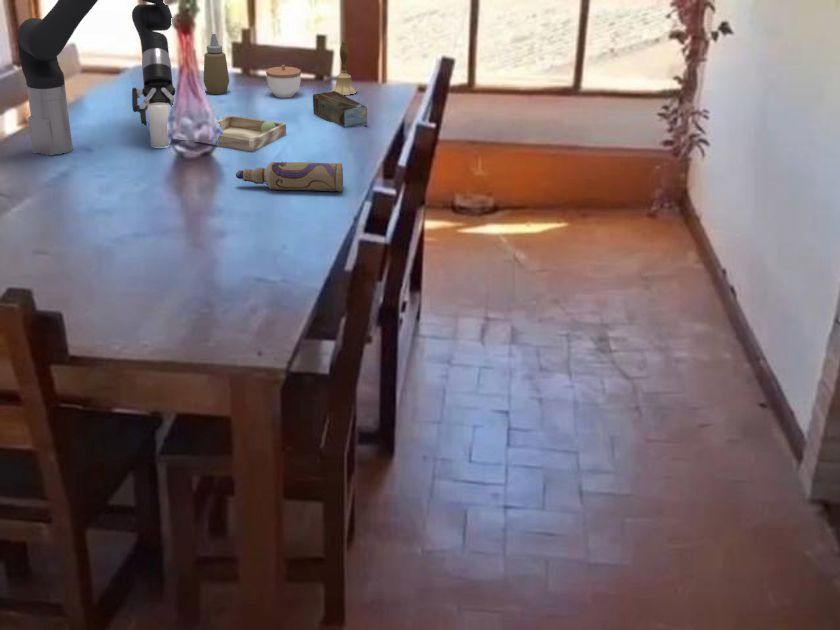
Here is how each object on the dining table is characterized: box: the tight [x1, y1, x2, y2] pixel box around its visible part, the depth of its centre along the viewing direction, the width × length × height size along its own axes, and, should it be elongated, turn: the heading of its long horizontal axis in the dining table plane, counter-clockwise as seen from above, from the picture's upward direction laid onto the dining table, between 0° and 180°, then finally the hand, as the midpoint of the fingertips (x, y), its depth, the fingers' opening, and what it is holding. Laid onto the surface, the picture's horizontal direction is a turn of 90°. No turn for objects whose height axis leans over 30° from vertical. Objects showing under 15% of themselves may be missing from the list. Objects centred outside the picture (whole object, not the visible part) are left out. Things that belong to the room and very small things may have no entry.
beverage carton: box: [312, 90, 368, 128], centre depth 308 cm, size 8×19×7 cm, turn 33°
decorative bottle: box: [235, 161, 344, 192], centre depth 255 cm, size 26×8×7 cm, turn 88°
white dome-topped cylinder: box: [147, 102, 170, 147], centre depth 281 cm, size 5×5×11 cm
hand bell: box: [330, 41, 358, 96], centre depth 334 cm, size 8×8×16 cm
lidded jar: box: [265, 64, 302, 99], centre depth 331 cm, size 11×11×9 cm
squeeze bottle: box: [203, 33, 230, 95], centre depth 330 cm, size 8×8×18 cm
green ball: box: [261, 120, 276, 133], centre depth 291 cm, size 4×4×4 cm
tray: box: [217, 114, 287, 153], centre depth 289 cm, size 18×18×4 cm
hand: (161, 123), depth 280 cm, fingers open, 8 cm apart
